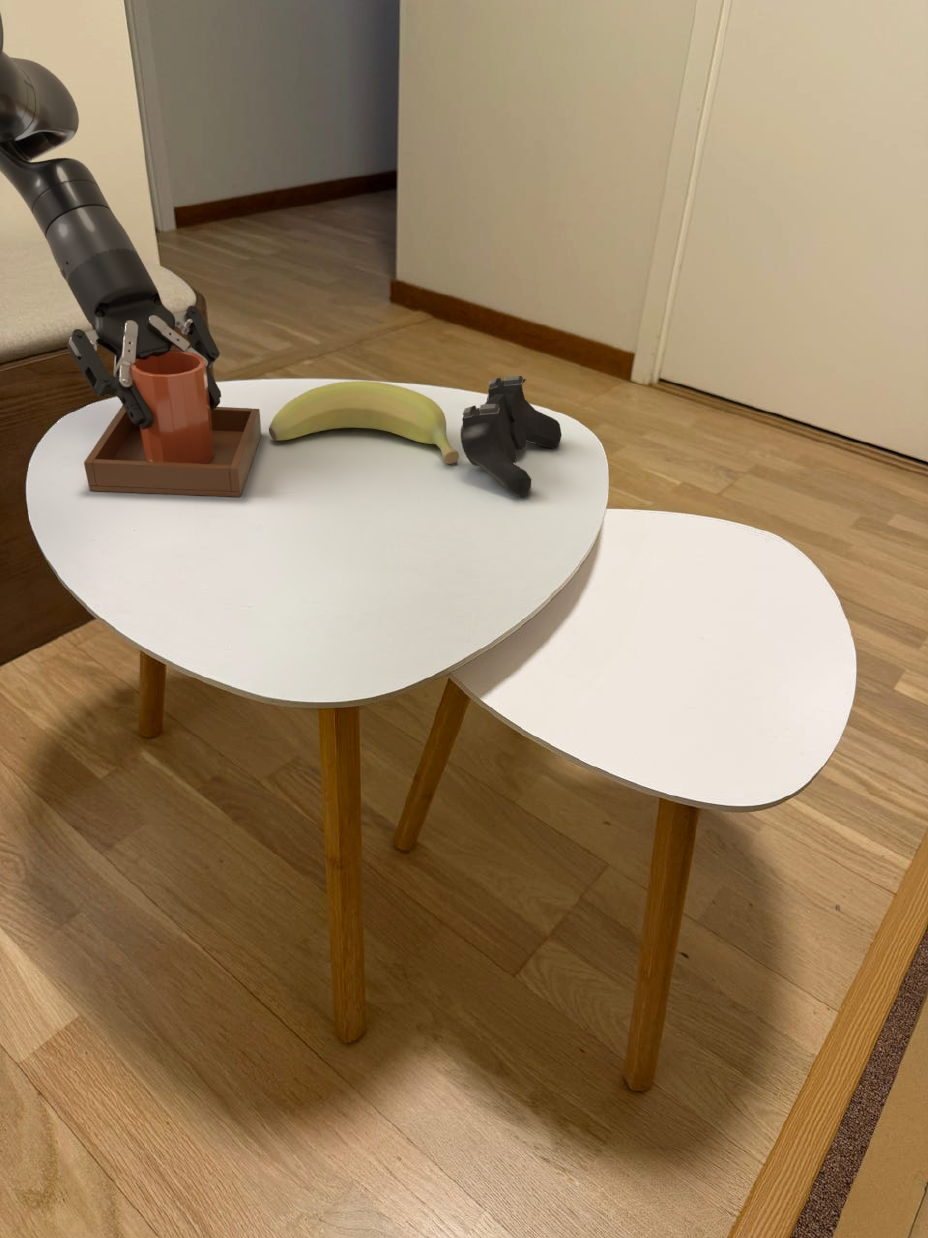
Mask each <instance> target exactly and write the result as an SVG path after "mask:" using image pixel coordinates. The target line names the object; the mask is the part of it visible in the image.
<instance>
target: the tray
mask: <svg viewBox="0 0 928 1238" xmlns="http://www.w3.org/2000/svg"><path fill="white" fill-rule="evenodd" d="M210 411H211V420H212V429H213V439H214V457H213V459H212V460H211V461H210V462H209V463H207V464H191V463H169V462H147V461H146V459H145V454H144V451H143V445H142V438H141V432H140V426H139V425H135V424H134V423H133V422H132V421H131V419H130V417H129V415H128V414H127V412H126V410H125V408H124V406H123V404H121V407H120V408H119V409H118V411H117V413H116V414H115V416H114V417H113V418H112V420H111V421H110V422H109V424H108V426H107V427H106V429H105V430H104V432H103V434H101V436H100V438H99V439H98V440H97V443H96V444H95V445H94V446H93V448H92V449H91V451H90V452H89V454H88V455H87V457H86V459H85V460H84V462H83V465H84V470H85V475H86V480H87V483H88V489H89V491H90V492H112V493H113V492H114V493H137V494H159V495H160V494H161V495H184V496H209V497H231V498H232V497H234V498H240V497H241V495H242V492H243V489H244V487H245V483H246V480H247V478H248V475H249V472H250V468H251V466H252V463H253V460H254V457H255V455H256V451H257V448H258V445H259V442H260V439H261V436H262V423H261V412H260V411H261V409H260V408H251V407H228V406H217V407H216V408H215V409H212V410H210Z"/></svg>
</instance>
